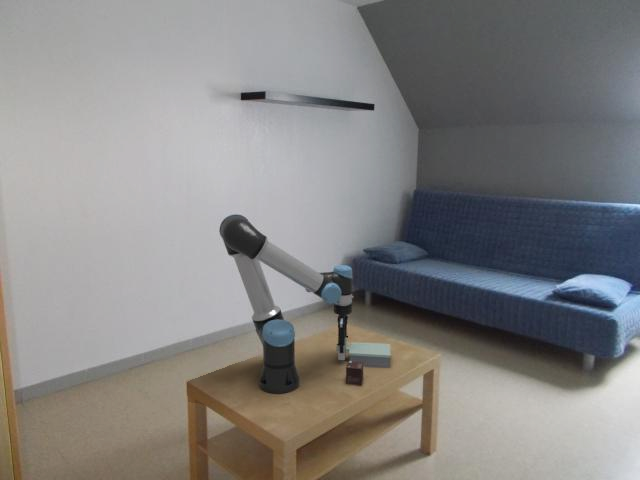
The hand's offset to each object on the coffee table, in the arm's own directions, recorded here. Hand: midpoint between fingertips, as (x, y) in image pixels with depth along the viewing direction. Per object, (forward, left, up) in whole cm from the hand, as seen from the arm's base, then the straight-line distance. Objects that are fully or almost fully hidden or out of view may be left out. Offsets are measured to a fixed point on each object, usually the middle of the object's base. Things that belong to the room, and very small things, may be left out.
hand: (342, 356), depth 206 cm
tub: (+11, 0, -2) cm, 12 cm away
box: (+6, -19, -2) cm, 20 cm away
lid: (+9, 0, +3) cm, 9 cm away
